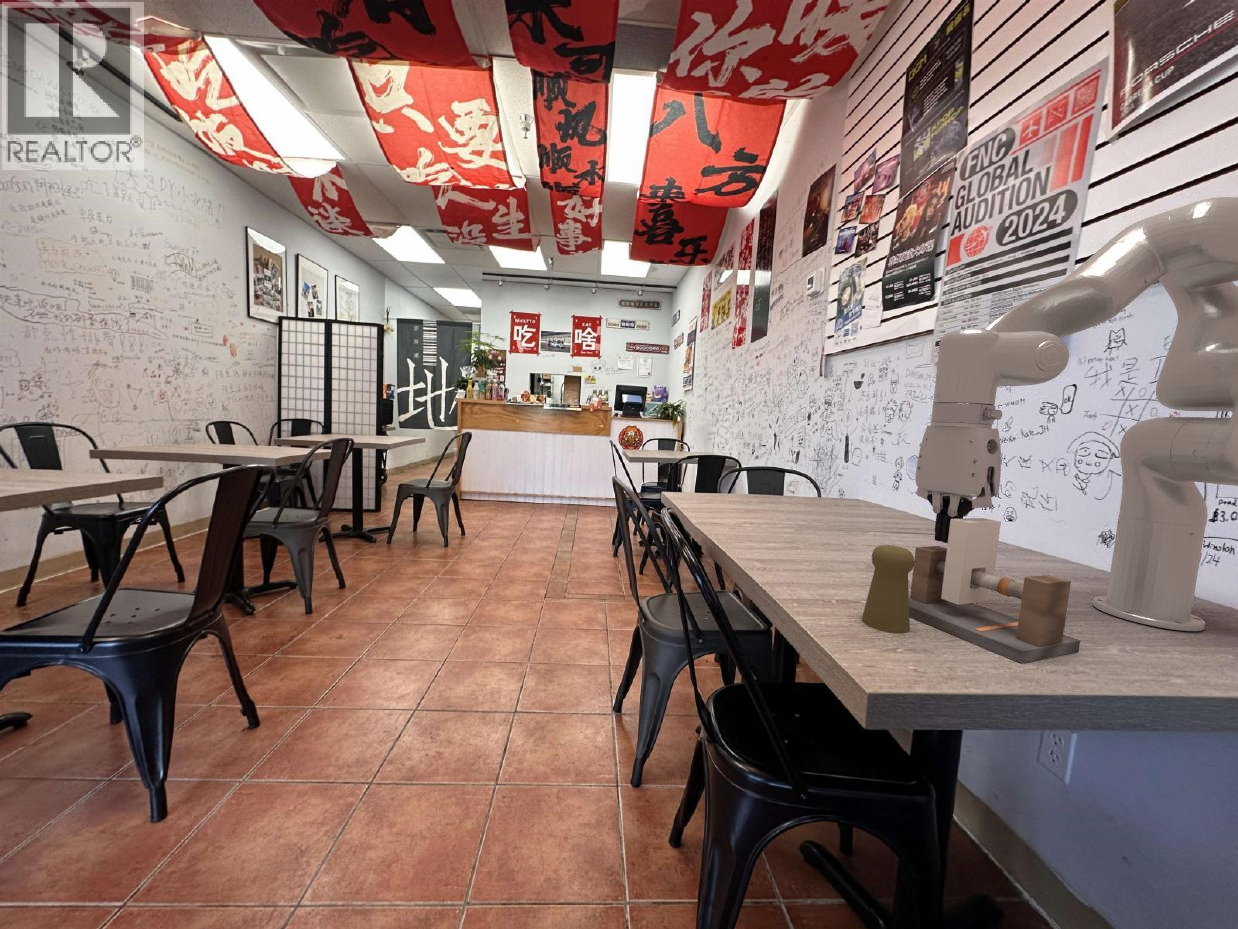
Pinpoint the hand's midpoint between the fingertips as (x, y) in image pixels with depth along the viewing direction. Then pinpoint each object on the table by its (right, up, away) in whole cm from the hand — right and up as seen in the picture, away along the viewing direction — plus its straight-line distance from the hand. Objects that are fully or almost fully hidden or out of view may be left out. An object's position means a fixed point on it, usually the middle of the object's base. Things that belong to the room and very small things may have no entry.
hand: (946, 541), depth 78 cm
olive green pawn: (-12, -11, -5) cm, 17 cm away
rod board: (+2, -12, -4) cm, 13 cm away
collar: (+1, -8, -3) cm, 8 cm away
